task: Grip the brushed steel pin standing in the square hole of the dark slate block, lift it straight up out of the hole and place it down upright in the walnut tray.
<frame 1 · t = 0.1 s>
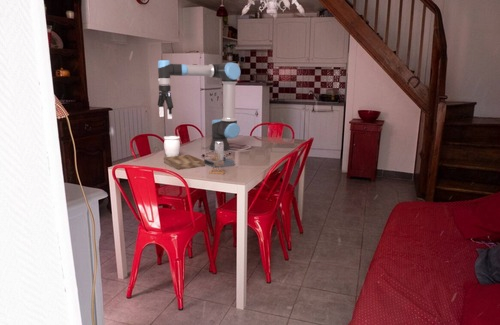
hand: (165, 117, 249), 28 cm above the table, tool pointing down, fingers open, 13 cm apart
jar: (172, 158, 258), on the table
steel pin: (219, 153, 241), in the hitch block
tan ornamental figurine: (217, 173, 222), on the table
tray: (183, 164, 242), on the table
hitch block: (219, 164, 243), on the table
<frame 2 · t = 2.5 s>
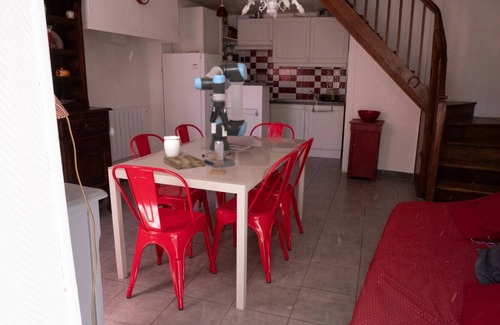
hand: (219, 134, 238), 19 cm above the table, tool pointing down, fingers open, 13 cm apart
nothing on the table moved.
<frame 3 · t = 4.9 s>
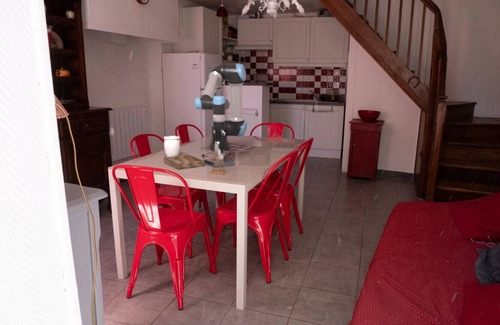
hand: (219, 157, 242), 5 cm above the table, tool pointing down, fingers closed on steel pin, 4 cm apart
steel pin: (219, 153, 241), in the hitch block, touching gripper
everything else where it was.
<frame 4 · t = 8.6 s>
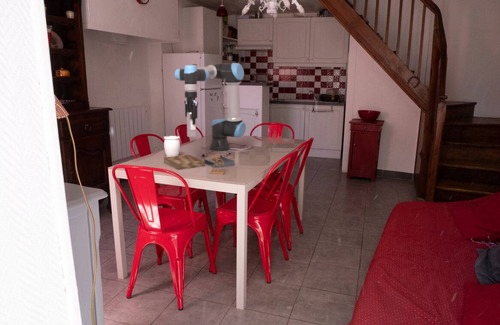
hand: (191, 129, 237), 23 cm above the table, tool pointing down, fingers closed on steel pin, 4 cm apart
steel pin: (191, 124, 236), point 26 cm above the table, touching gripper
everything else where it was.
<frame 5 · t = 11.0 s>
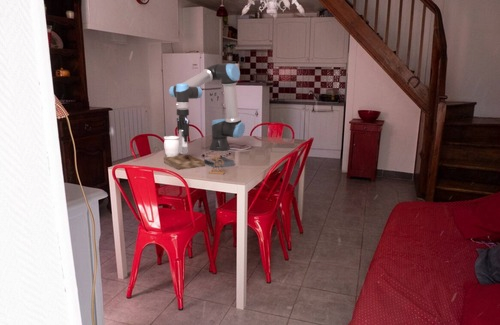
hand: (183, 146, 239), 12 cm above the table, tool pointing down, fingers closed on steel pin, 4 cm apart
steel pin: (183, 141, 238), point 15 cm above the table, touching gripper
everything else where it was.
when the fingers open (7 cm above the table, at t = 12.7 s): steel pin stays where it is, resting on tray.
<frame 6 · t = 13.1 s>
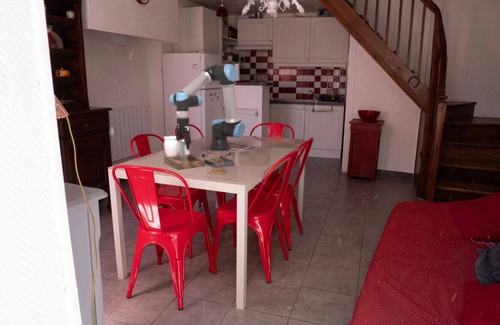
hand: (183, 152, 240), 8 cm above the table, tool pointing down, fingers open, 9 cm apart
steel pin: (183, 151, 240), in the tray, point 8 cm above the table
everything else where it was.
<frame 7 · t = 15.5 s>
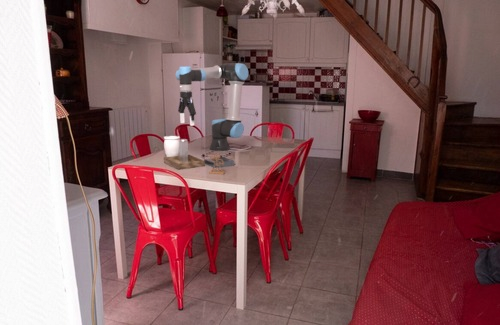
hand: (187, 124, 247), 24 cm above the table, tool pointing down, fingers open, 13 cm apart
nothing on the table moved.
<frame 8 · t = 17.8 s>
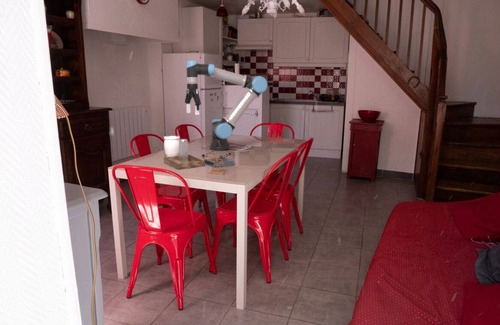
hand: (192, 113, 269), 29 cm above the table, tool pointing down, fingers open, 13 cm apart
nothing on the table moved.
at the end: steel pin inside the target area on the tray (0.0 cm from its centre), point 8.5 cm above the tray's base; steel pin tilted 0°; the gripper is holding nothing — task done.
